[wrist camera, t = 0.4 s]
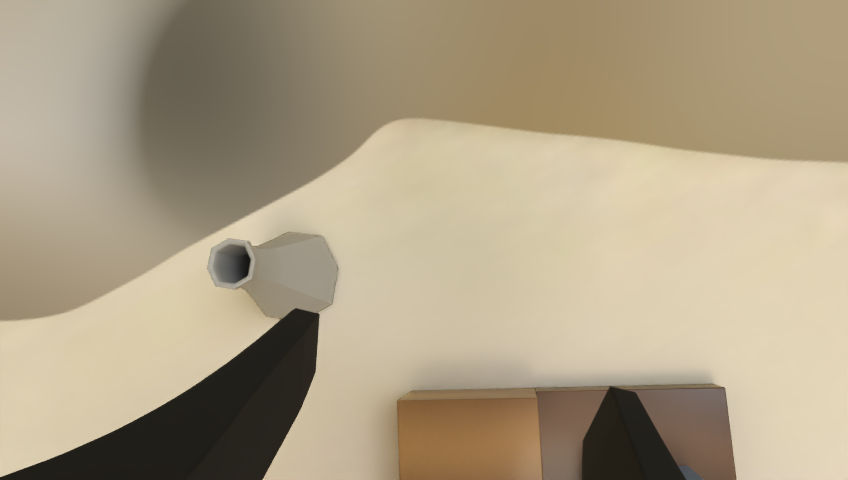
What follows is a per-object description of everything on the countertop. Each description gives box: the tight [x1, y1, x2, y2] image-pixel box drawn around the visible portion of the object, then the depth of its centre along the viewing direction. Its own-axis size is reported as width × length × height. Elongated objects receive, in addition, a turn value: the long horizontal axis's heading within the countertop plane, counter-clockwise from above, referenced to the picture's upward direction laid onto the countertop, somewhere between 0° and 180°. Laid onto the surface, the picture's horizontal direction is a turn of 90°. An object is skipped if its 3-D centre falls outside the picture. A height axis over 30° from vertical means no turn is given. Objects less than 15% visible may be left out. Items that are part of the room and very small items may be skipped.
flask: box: [207, 232, 338, 319], centre depth 38 cm, size 7×7×10 cm
